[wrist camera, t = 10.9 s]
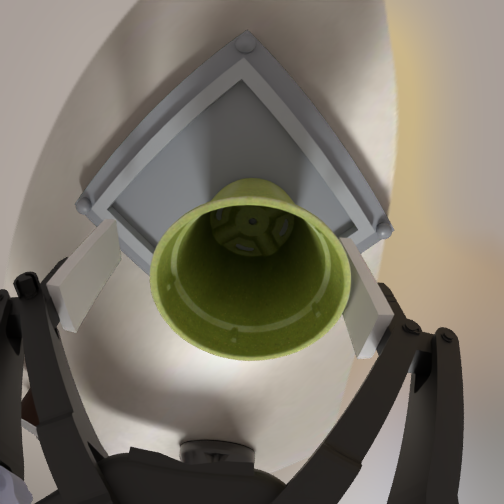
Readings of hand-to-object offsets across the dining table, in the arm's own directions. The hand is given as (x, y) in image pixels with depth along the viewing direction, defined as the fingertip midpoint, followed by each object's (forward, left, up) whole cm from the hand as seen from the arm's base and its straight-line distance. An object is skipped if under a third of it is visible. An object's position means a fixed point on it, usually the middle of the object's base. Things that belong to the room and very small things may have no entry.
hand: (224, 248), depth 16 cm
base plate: (0, 0, -6) cm, 6 cm away
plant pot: (-1, -1, -5) cm, 5 cm away
